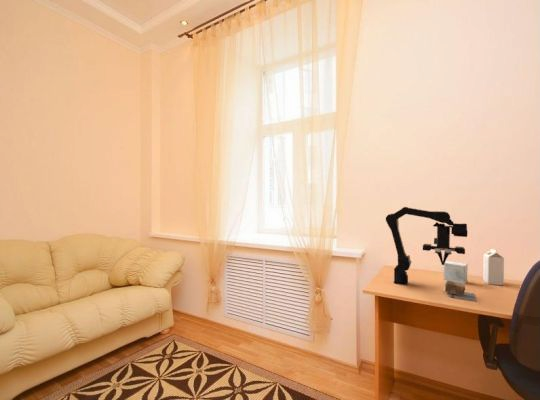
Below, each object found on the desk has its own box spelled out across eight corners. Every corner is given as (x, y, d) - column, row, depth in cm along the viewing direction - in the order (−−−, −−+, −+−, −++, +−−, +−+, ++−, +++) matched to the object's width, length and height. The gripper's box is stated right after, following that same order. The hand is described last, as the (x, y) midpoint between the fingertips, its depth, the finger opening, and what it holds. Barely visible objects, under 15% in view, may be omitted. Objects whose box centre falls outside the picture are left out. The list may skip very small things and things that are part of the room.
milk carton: (497, 281, 158) (498, 248, 158) (503, 285, 151) (504, 250, 151) (483, 280, 160) (483, 247, 160) (488, 284, 154) (488, 250, 153)
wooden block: (446, 282, 138) (465, 287, 134) (445, 280, 142) (464, 285, 138) (444, 291, 139) (463, 296, 135) (443, 288, 143) (462, 293, 139)
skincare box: (443, 280, 162) (443, 262, 162) (446, 277, 166) (446, 260, 166) (464, 284, 154) (464, 265, 154) (467, 282, 158) (467, 263, 158)
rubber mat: (453, 297, 134) (453, 297, 134) (452, 290, 144) (452, 290, 144) (476, 301, 129) (476, 301, 129) (473, 293, 139) (473, 293, 139)
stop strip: (448, 297, 135) (448, 295, 135) (447, 289, 145) (447, 288, 145) (451, 297, 134) (451, 295, 134) (450, 290, 144) (450, 288, 144)
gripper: (463, 235, 148) (463, 264, 148) (423, 232, 158) (423, 259, 158) (465, 237, 138) (464, 268, 139) (422, 234, 148) (422, 263, 149)
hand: (442, 264), depth 146 cm, fingers closed
